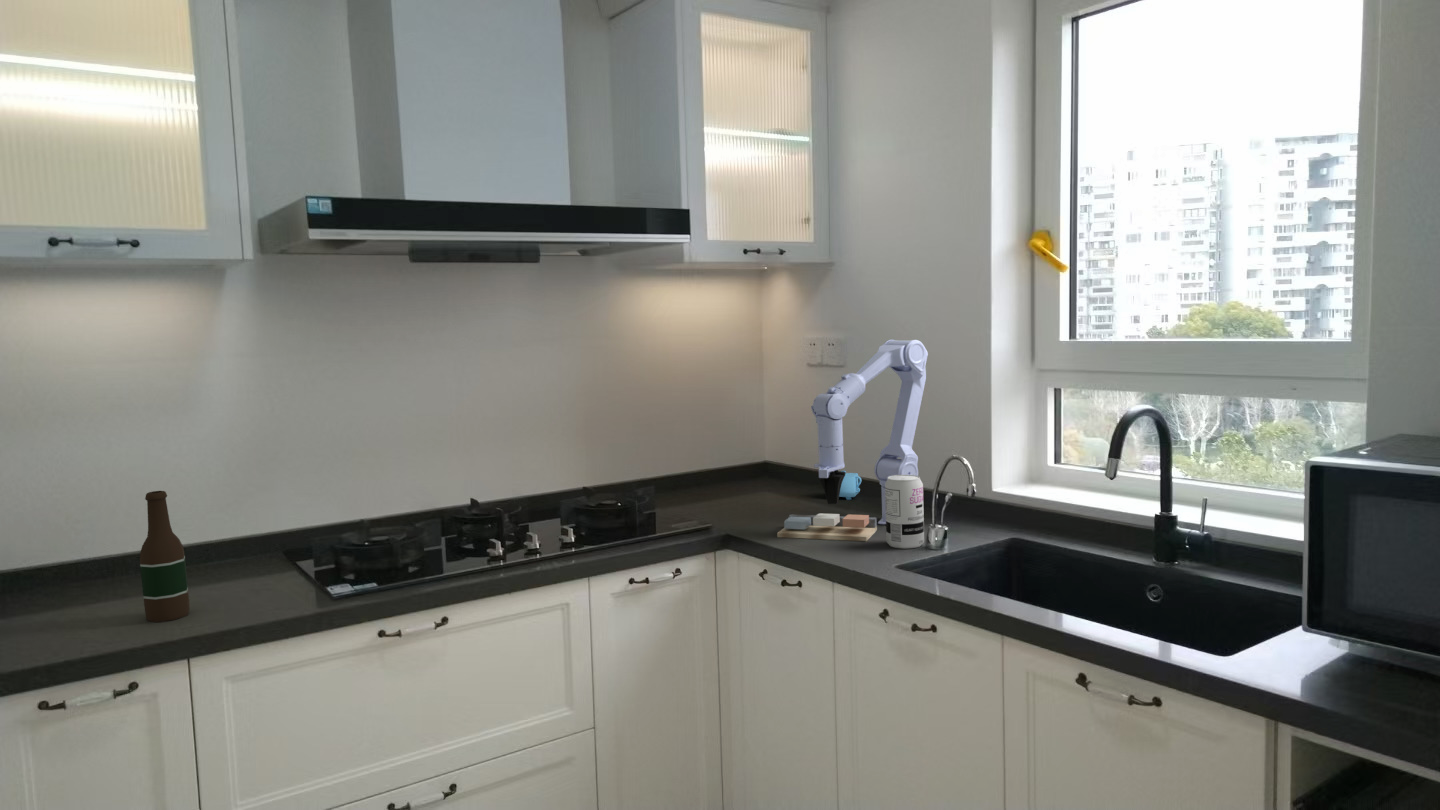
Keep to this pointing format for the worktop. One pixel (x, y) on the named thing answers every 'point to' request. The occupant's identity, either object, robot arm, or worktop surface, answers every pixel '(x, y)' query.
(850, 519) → the key terracotta
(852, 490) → the teapot
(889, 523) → the supplement can
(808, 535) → the keypad base
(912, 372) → the robot arm
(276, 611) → the worktop surface
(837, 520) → the key middle
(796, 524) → the key slate
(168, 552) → the beer bottle
